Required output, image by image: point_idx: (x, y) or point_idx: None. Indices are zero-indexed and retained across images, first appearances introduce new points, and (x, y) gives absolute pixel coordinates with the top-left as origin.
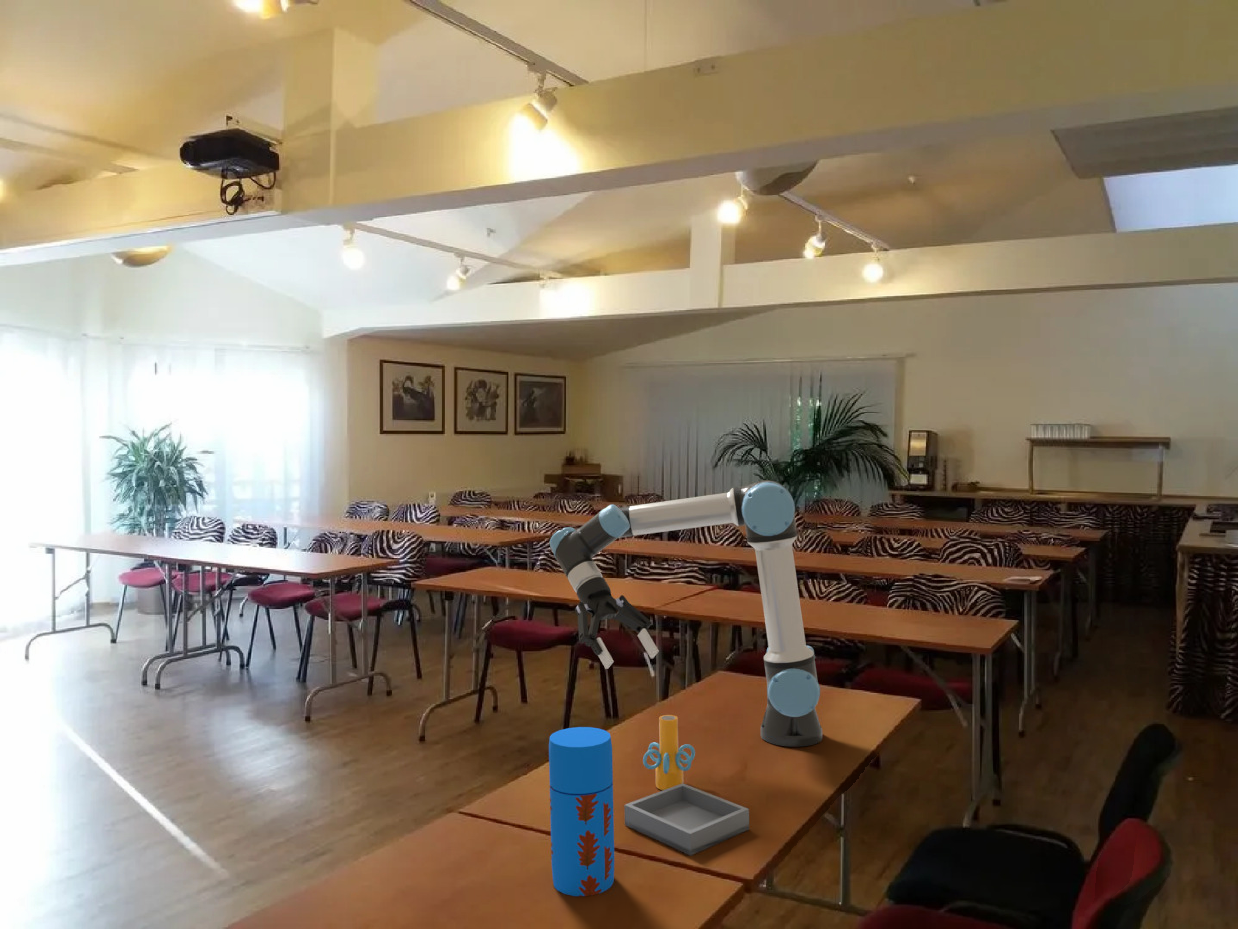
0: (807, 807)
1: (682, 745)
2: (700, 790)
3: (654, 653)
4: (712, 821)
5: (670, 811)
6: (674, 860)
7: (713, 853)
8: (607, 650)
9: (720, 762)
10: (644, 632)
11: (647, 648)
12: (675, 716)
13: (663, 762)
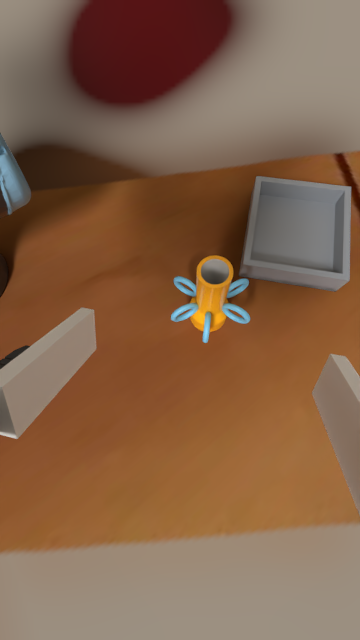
0: (170, 178)
1: (190, 283)
2: (248, 236)
3: (93, 324)
4: (309, 185)
5: (282, 262)
6: (356, 210)
7: None
8: (355, 393)
9: (98, 308)
10: (22, 373)
11: (73, 362)
12: (200, 265)
13: (248, 282)
